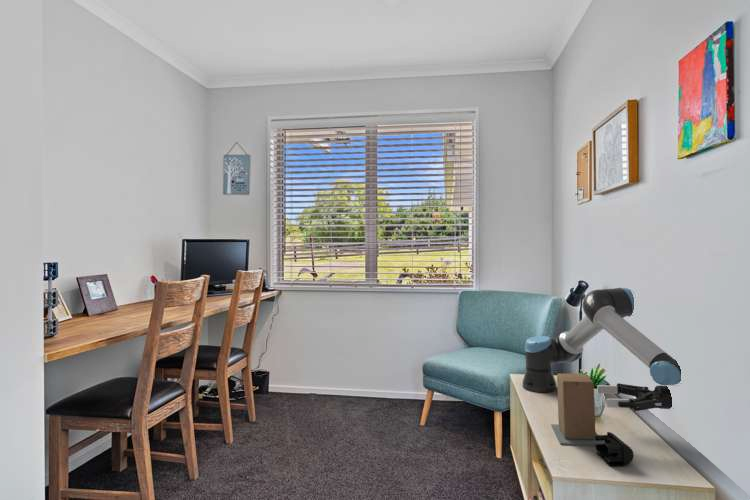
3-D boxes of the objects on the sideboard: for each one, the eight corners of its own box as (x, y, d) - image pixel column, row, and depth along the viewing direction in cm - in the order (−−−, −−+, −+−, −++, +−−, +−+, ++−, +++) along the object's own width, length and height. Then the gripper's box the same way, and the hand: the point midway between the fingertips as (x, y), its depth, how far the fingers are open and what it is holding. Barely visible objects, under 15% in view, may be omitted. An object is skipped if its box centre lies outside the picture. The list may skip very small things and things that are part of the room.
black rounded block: (634, 467, 135) (633, 445, 135) (610, 468, 136) (609, 445, 136) (617, 452, 145) (616, 431, 145) (595, 452, 146) (594, 432, 146)
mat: (551, 425, 168) (551, 424, 168) (591, 427, 165) (591, 425, 165) (560, 444, 152) (560, 442, 152) (605, 446, 149) (605, 444, 149)
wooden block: (596, 440, 153) (594, 381, 153) (564, 439, 155) (562, 381, 154) (587, 428, 163) (586, 373, 162) (558, 427, 164) (556, 373, 164)
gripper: (686, 423, 141) (612, 420, 146) (657, 395, 165) (594, 394, 170) (685, 399, 141) (610, 397, 146) (656, 375, 165) (593, 374, 170)
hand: (601, 395), depth 158 cm, fingers open, 13 cm apart
